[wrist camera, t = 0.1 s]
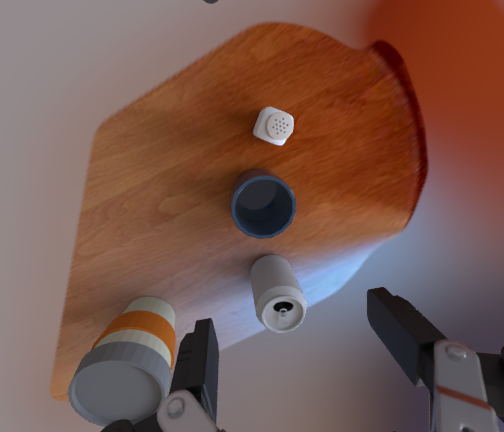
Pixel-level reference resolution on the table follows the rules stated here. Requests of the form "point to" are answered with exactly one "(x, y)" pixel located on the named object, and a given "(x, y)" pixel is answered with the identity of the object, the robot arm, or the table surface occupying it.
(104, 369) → the reusable coffee cup
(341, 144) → the table surface
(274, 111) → the salt shaker
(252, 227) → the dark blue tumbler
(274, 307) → the can
